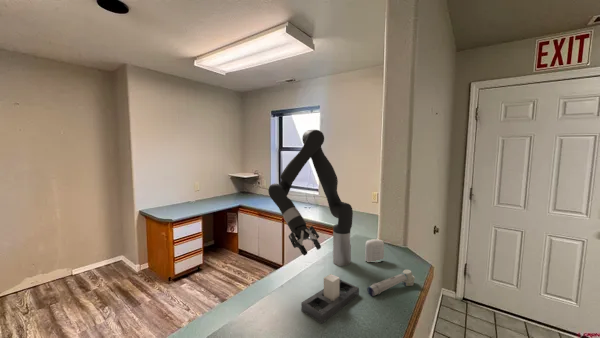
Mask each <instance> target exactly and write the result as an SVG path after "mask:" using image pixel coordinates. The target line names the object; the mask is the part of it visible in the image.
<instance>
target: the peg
mask: <svg viewBox="0 0 600 338" xmlns="http://www.w3.org/2000/svg"><path fill="white" fill-rule="evenodd" d="M340 280H341V278H340V277H338V276H336V275H334V274H331V273H330V274H328V275H327V276H326V275H325V276H324V277H323V289H324V297H326V298H328V299H329V300H331V301H335V300H336V299H337V298H339V283H340Z"/></svg>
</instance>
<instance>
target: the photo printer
mask: <svg viewBox="0 0 600 338" xmlns="http://www.w3.org/2000/svg"><path fill="white" fill-rule="evenodd" d="M364 246H365V247H364V248H365V249H364V250H365V251H364V260H365V261H367V262H371V261H376V260H380V259H383V258H384V257H385V243H384V241H383V240H382V239H377V238H373V239H368V240H365V245H364ZM365 261H364V262H365ZM367 262H366V263H367Z"/></svg>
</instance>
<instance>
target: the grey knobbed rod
mask: <svg viewBox="0 0 600 338" xmlns="http://www.w3.org/2000/svg"><path fill="white" fill-rule="evenodd" d="M415 280H416V278H415V276H414V275H413V272H412V270H410V269H404V270H403V271H402V273H399V274H396V275H395V276H392V277H389V278H386V279H383V280H381V281H379V282H373V283H372V285H369V286H367V287H366V291H367V293H368V295H369V296H370V297H375V296H376V295H380V294H381V293H382V292H385V291H386V290H388V289H390V288H392V287H394V286H396V285H398V284H400V283H402V285H404V286H406V287H413V286H414V285H415Z"/></svg>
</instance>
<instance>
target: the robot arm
mask: <svg viewBox="0 0 600 338" xmlns="http://www.w3.org/2000/svg"><path fill="white" fill-rule="evenodd" d="M301 139H302V143H303V146H302V147H301V149H300V150H299V152H298V153H297V154H296V155H295V156H294V157H293V158H292V159H291V160H290V161H289V162H288V164H287V165H286V167H285V168H284V169H283V171H282V172H281V174H280V177H279V178H280V181H279V183H276V182H275V183H272V184H270V185H269V186H268V195H269V197H270V199H271V200H272V202H273V203H274V204H275V205H276V206H277V208H278V210H279V211H280V213H281V214H282V216H283V219H284V221H285V222H286V224H287V226H288V229H289V230H290V233H289V235H288V239H289V241H290V243H291V245H292V247H293V248H294V249H296V248H298V250H299V251H300V252H301V255H303V256H306V255H308V251H307V249H306V248H305V246H304V245H303V242H304V241H307V240H308V241H311V242H312V243H313V245H314V247H315V249H316V250H317V251H318V250H320V249H321V248H322V245H321V244H320V242H319V238H320V234H319V233H318V232H317V231H316V229H315V228H314V226H311V225H310V227H307V223H306V221H305V219H304V217H303V216H302V214H301V213H300V211H299V210H298V209H297V207H296V205H295V204H294V202H293V201H292V200H291V198H289V197H288V195H289V194H290V193H289V192H290V191H291V188H292V185H293V182H294V181H295V180H296V179H297V177H298V175H299V174H300V173H301V171H302V170H303V168H304V166H305V165H306V164H307V162H308V161H310V159H311V162H312V166H313V167H314V170H315V172H316V175H317V178H318V180H319V182H320V185H321V187H322V189H323V192H324V195H325V199H326V200H327V204H328V208H329V211H330V214H331V215H332V216H333V217H334V218H336V219H337V223H335V225H333V226H332V227H333V228H332V230H333V231H332V233H333V234H332V236H333V238H332V239H333V240H332V246H333V247H332V248H333V249H332V263H333V264H334V265H336V266H340V267H347V266H349V265H350V264H351V262H352V244H351V229H352V227H353V216H354V215H353V214H354V213H353V207H352V205H351V204H349V203H348V202H344V201H342V200H341V198H340V195H339V194H338V183H339V181H338V180H339V179H338V176H337V173H336V172H335V169H334V167H333V165H332V163H331V162H330V160H329V159H328V158H327V156H326V155H325V152H324V151H323V148H322V146H323V144H324V142H325V135H324V133H323V132H322V131H321V130H318V129H309V130H306V131H304V132H303V134H302V138H301Z"/></svg>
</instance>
